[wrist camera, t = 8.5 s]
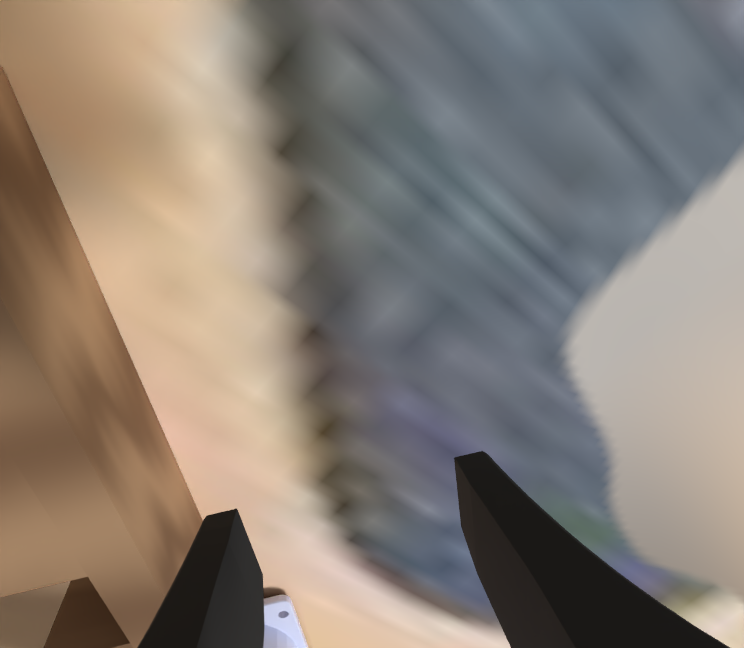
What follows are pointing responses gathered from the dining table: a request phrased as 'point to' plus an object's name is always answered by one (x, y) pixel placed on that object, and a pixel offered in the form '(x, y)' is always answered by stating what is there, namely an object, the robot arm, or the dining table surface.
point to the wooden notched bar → (75, 426)
